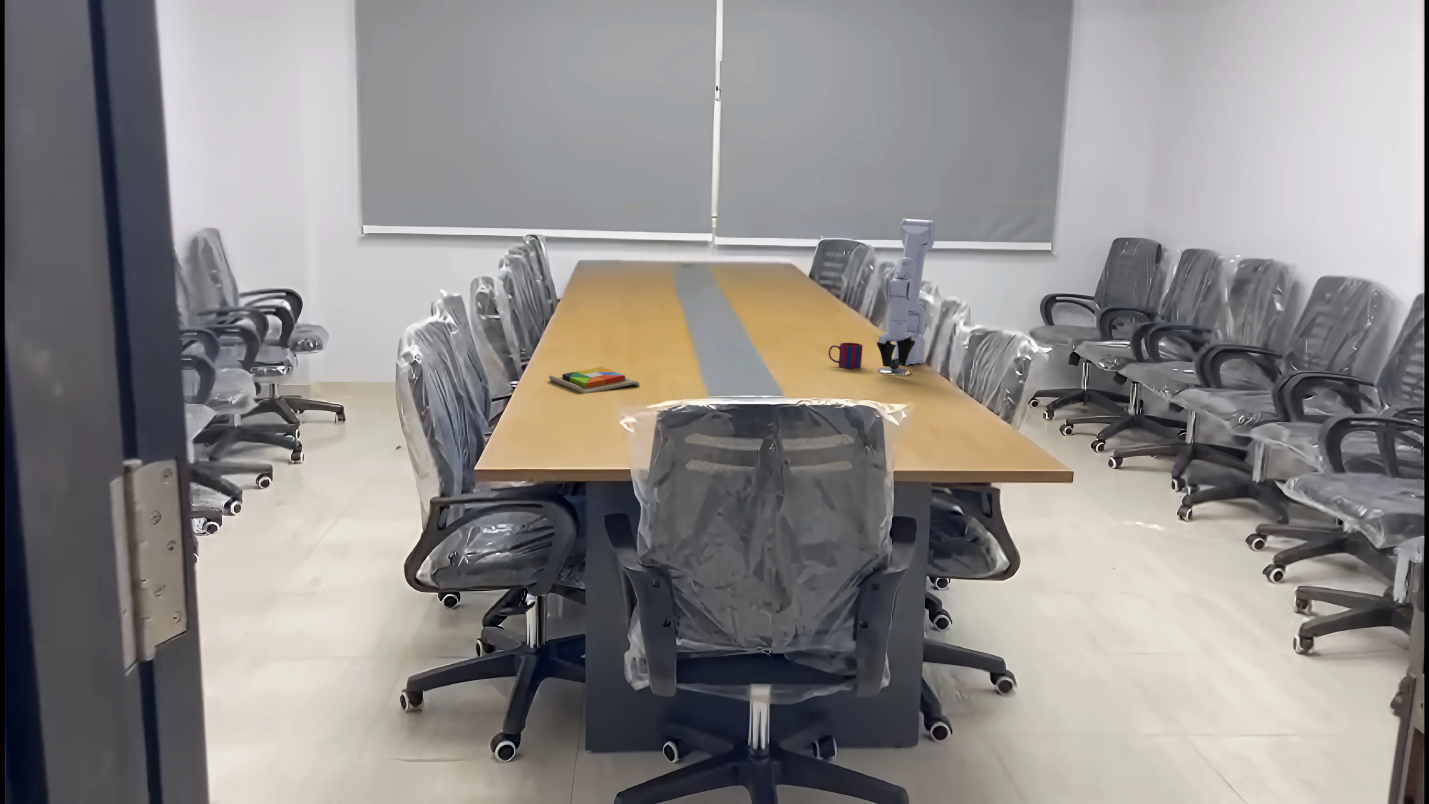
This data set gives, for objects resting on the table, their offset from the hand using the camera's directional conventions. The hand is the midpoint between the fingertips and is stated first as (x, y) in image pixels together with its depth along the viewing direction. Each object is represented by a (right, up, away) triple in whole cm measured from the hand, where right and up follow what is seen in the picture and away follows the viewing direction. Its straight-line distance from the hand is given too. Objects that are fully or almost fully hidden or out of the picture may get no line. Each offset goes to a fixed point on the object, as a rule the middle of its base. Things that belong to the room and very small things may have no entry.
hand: (894, 365), depth 322 cm
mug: (-14, 0, +6) cm, 15 cm away
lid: (0, -2, +1) cm, 3 cm away
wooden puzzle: (-86, -7, -31) cm, 91 cm away
